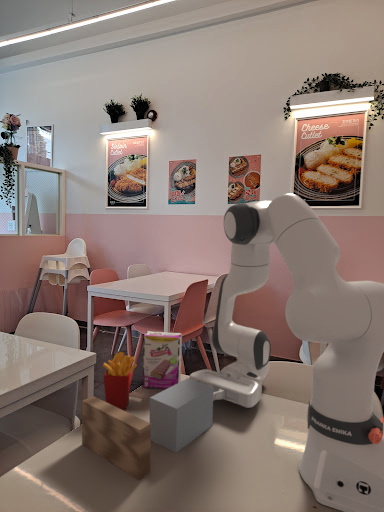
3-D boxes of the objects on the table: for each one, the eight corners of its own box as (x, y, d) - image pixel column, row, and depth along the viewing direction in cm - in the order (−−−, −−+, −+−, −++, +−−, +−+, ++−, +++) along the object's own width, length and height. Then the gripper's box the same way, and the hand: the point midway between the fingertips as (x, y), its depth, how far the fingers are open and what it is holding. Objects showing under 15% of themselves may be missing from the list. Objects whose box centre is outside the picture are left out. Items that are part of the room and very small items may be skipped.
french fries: (102, 412, 94) (102, 356, 93) (109, 398, 102) (110, 346, 101) (135, 413, 94) (136, 357, 93) (140, 398, 102) (141, 347, 101)
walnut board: (150, 471, 72) (150, 423, 71) (139, 480, 70) (139, 430, 69) (93, 438, 83) (93, 396, 82) (82, 444, 80) (82, 400, 80)
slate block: (212, 426, 89) (213, 387, 89) (175, 453, 78) (176, 408, 78) (186, 415, 94) (187, 378, 93) (149, 439, 83) (149, 397, 82)
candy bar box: (142, 388, 109) (142, 335, 108) (145, 381, 114) (146, 330, 113) (178, 391, 108) (180, 337, 107) (181, 383, 113) (182, 332, 112)
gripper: (205, 360, 111) (176, 374, 100) (266, 378, 98) (241, 396, 87) (204, 380, 111) (175, 396, 100) (265, 401, 99) (240, 422, 88)
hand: (206, 397), depth 94 cm, fingers closed
